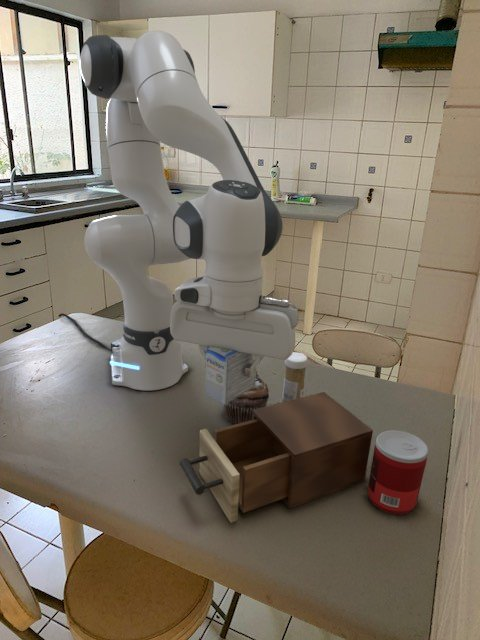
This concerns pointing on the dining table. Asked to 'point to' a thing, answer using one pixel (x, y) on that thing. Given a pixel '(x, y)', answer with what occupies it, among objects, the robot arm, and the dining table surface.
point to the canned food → (397, 471)
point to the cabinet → (318, 445)
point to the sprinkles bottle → (294, 376)
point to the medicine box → (227, 374)
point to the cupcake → (247, 402)
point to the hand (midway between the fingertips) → (230, 371)
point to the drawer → (241, 467)
